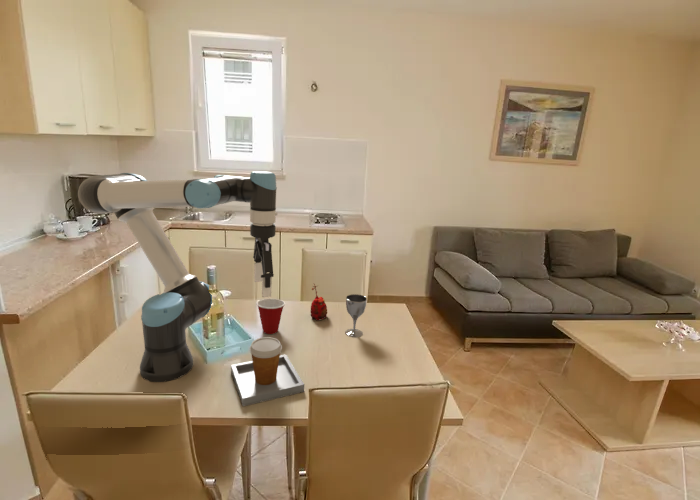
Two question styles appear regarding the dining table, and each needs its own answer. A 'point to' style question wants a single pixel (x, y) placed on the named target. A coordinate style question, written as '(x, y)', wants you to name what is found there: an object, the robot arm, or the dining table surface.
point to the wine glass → (355, 312)
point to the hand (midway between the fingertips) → (262, 288)
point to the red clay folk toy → (318, 307)
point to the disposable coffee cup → (265, 359)
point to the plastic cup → (270, 314)
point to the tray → (256, 393)
